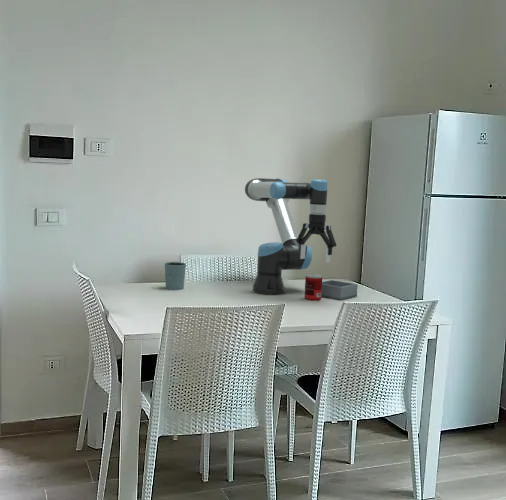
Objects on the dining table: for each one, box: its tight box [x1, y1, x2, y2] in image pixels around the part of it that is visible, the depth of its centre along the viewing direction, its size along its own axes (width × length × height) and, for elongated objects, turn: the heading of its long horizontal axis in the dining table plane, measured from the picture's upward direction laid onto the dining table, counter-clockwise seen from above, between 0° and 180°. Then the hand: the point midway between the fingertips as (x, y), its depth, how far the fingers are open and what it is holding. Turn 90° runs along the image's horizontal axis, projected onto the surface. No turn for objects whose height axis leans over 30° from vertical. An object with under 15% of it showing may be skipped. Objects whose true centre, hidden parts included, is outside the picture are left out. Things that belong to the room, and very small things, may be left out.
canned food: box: [304, 273, 323, 301], centre depth 317 cm, size 8×8×11 cm
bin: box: [321, 279, 359, 301], centre depth 327 cm, size 15×15×6 cm
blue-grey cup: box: [164, 261, 187, 291], centre depth 329 cm, size 10×10×12 cm
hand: (315, 260), depth 316 cm, fingers open, 13 cm apart
